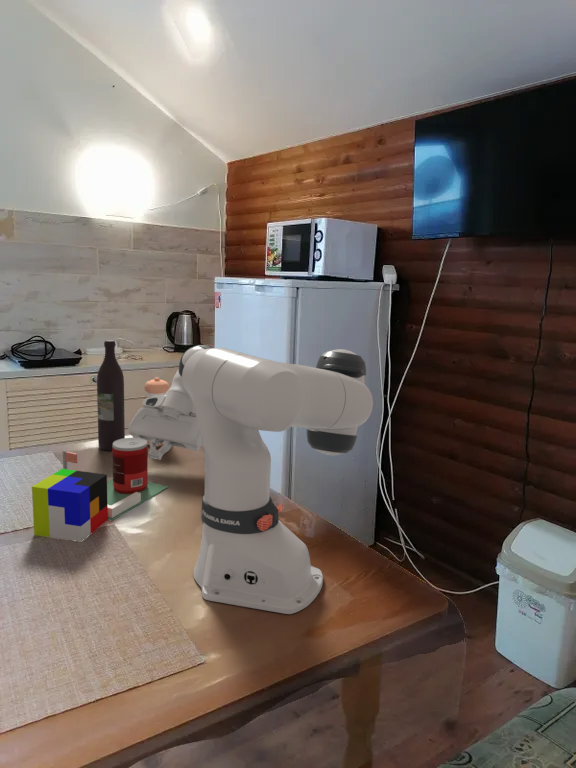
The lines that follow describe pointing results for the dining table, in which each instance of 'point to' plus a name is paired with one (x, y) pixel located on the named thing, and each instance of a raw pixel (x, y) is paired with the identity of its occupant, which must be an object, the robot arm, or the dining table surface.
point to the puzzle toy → (70, 504)
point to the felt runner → (146, 494)
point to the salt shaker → (156, 391)
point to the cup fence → (112, 509)
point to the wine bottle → (110, 399)
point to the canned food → (130, 465)
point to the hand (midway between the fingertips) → (153, 457)
